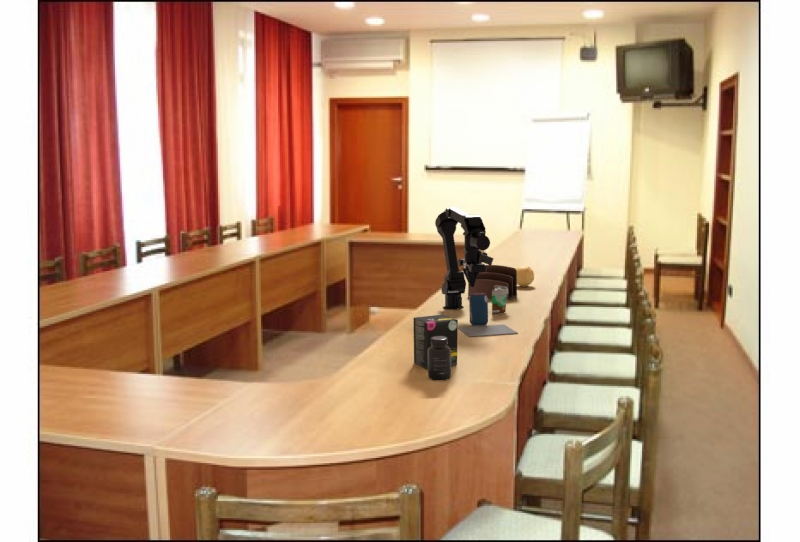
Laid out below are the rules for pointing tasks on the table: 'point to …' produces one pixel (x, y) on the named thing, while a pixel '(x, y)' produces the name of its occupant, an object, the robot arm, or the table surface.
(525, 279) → the stress ball
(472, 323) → the soda can
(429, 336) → the tampon box
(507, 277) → the letter holder
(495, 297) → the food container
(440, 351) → the supplement bottle
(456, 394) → the table surface
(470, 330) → the mat
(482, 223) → the robot arm
